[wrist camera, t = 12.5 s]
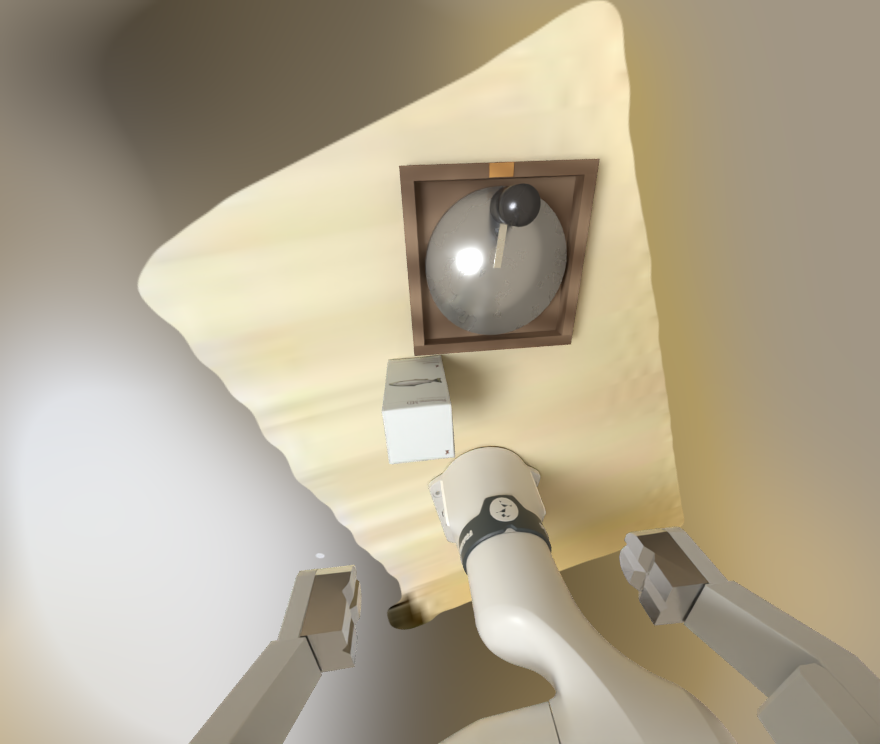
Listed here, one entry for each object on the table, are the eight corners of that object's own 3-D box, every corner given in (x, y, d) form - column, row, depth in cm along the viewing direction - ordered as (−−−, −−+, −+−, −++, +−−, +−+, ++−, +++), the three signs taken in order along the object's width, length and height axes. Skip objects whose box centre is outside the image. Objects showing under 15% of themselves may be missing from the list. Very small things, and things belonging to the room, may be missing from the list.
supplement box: (441, 353, 44) (454, 403, 33) (444, 400, 47) (456, 460, 36) (386, 357, 43) (380, 410, 32) (393, 404, 47) (389, 467, 36)
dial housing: (560, 336, 44) (571, 344, 42) (414, 346, 43) (414, 356, 40) (584, 162, 35) (600, 158, 32) (399, 169, 34) (399, 165, 31)
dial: (543, 332, 43) (566, 353, 37) (421, 327, 41) (424, 348, 35) (575, 193, 36) (610, 191, 30) (429, 179, 34) (434, 173, 28)
